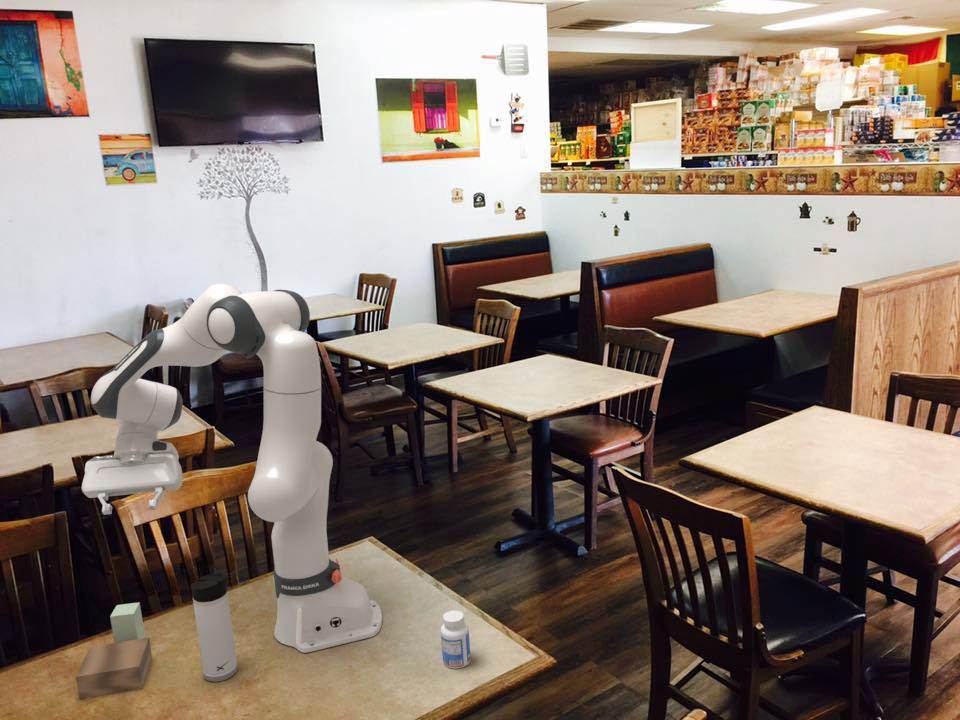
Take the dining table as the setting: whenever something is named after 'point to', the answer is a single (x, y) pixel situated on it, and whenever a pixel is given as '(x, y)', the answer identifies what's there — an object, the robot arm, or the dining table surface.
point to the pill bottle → (455, 640)
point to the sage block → (127, 622)
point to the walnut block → (114, 668)
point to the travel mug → (214, 627)
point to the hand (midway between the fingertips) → (129, 511)
